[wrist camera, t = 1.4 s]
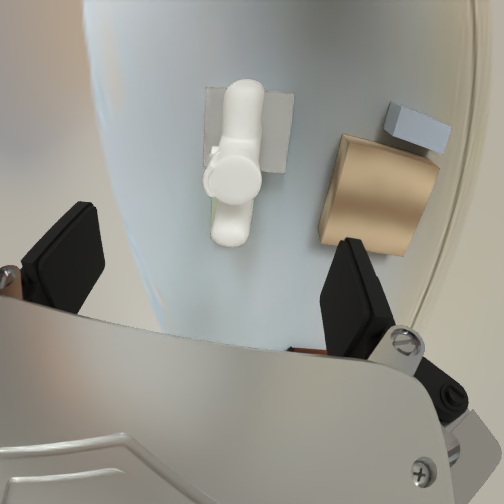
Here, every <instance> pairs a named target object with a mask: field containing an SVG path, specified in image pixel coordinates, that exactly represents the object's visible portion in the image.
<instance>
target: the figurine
mask: <svg viewBox="0 0 504 504" xmlns="http://www.w3.org/2000/svg"><path fill="white" fill-rule="evenodd" d="M294 100H295V94H289V93H281V92H272V91H264V87H263V85H262V84H261V83H259V82H258V81H255V80H250V79H242V80H238V81H236V82H234V83H233V84H231V85H230V86H229V87H228V88H216V87H206V99H205V123H204V159H203V167H207V168H206V170H205V172H204V175H203V187H204V190H205V192H206V194H207V195H208V196H209V197H212V198H213V197H216V198H217V199H218V204H217V210H216V214H215V218H214V222H213V225H212V229H211V236H212V239H213V240H214V241H215V242H216V243H217V244H219V245H221V246H224V247H239V246H241V245H243V244H244V243H245V242H246V241H247V239H248V237H249V232H250V225H251V218H252V212H253V200H254V198H255V197H256V196H257V194H258V192H259V191H260V188H261V184H262V177H261V171H262V172H271V173H280V174H285V168H286V161H287V154H288V146H289V139H290V131H291V123H292V116H293V108H294Z"/></svg>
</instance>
